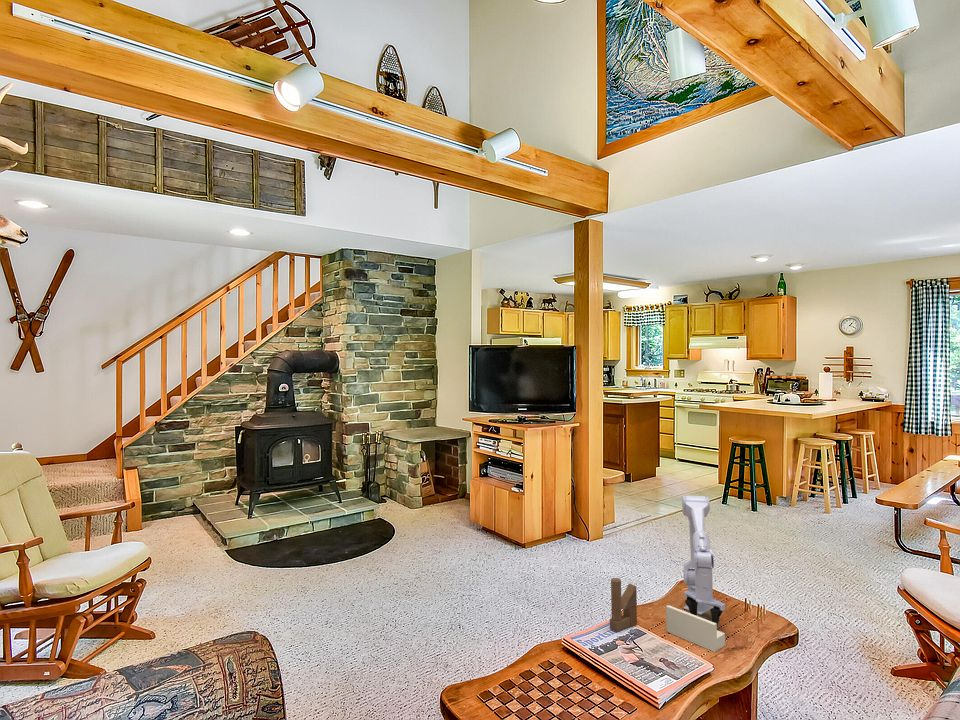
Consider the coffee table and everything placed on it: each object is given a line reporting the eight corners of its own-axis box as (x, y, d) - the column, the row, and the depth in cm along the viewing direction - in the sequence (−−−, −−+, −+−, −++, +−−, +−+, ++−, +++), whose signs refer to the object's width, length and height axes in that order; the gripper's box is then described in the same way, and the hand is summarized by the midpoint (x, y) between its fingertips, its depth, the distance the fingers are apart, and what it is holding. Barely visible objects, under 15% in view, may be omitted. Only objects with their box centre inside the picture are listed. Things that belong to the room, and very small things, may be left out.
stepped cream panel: (677, 625, 194) (676, 600, 194) (725, 645, 180) (724, 618, 180) (666, 631, 190) (666, 606, 190) (714, 652, 176) (714, 624, 176)
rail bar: (711, 624, 195) (711, 608, 195) (719, 627, 192) (719, 611, 193) (691, 636, 186) (691, 619, 186) (700, 640, 184) (699, 623, 184)
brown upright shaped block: (637, 624, 195) (636, 575, 195) (616, 632, 189) (616, 582, 190) (629, 620, 198) (628, 572, 198) (609, 628, 192) (608, 579, 193)
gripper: (679, 581, 192) (679, 619, 192) (717, 595, 181) (718, 634, 181) (689, 577, 197) (690, 613, 197) (728, 589, 185) (728, 628, 185)
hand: (704, 623), depth 189 cm, fingers open, 7 cm apart
